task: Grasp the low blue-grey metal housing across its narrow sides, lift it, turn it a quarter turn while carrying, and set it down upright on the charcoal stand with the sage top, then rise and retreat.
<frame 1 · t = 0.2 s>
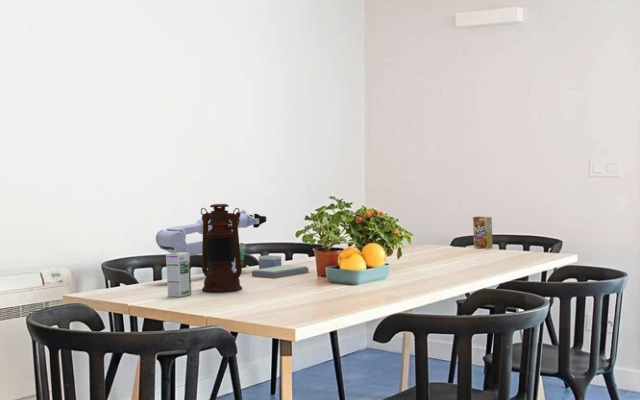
hand: (259, 218, 371), 21 cm above the table, tool horizontal, fingers open, 7 cm apart
syrup box: (179, 296, 303), on the table
candy box: (483, 248, 434), on the table
lantern: (222, 290, 314), on the table
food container: (237, 268, 381), on the table
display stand: (280, 274, 353), on the table
housing: (270, 270, 368), on the table
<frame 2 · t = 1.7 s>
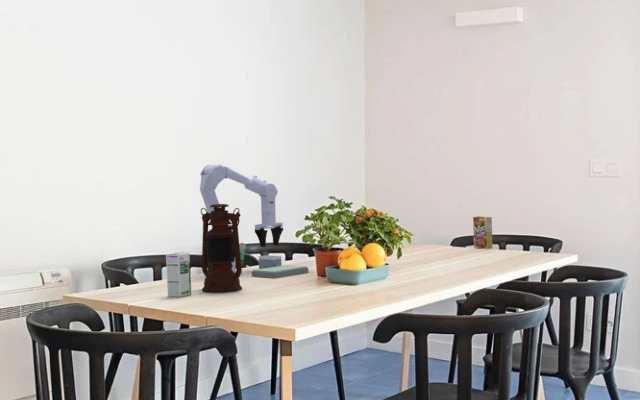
hand: (269, 246, 367), 10 cm above the table, tool pointing down, fingers open, 7 cm apart
nothing on the table moved.
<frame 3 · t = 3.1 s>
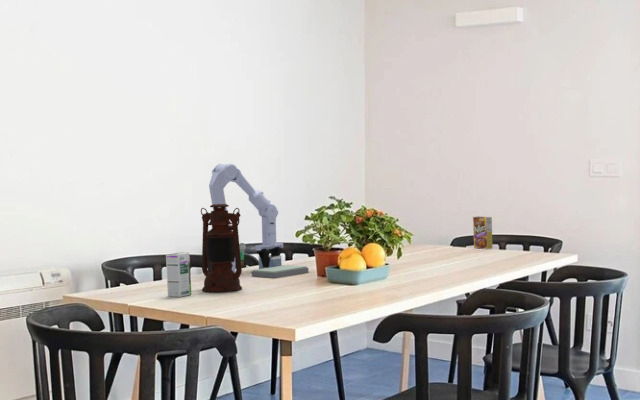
hand: (270, 266, 367), 2 cm above the table, tool pointing down, fingers closed on housing, 5 cm apart
housing: (270, 270, 368), on the table, touching gripper
everything else where it was.
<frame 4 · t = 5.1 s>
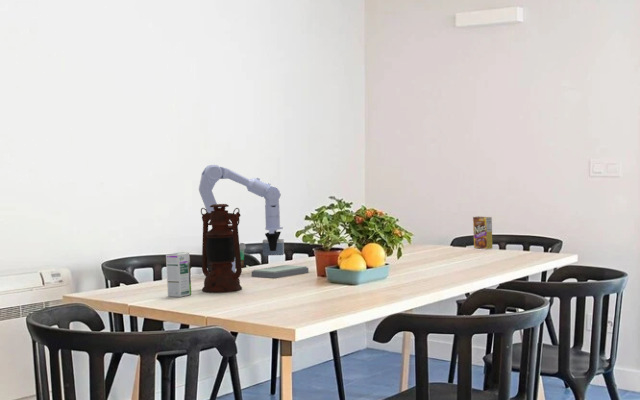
hand: (273, 250, 361), 9 cm above the table, tool pointing down, fingers closed on housing, 5 cm apart
housing: (273, 254, 361), point 7 cm above the table, touching gripper
everything else where it was.
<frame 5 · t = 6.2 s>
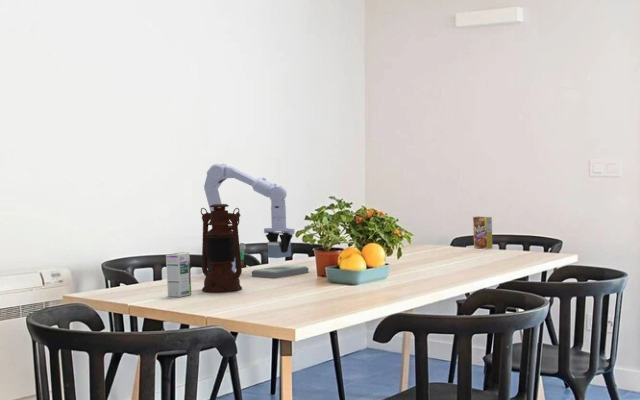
hand: (279, 252, 353), 9 cm above the table, tool pointing down, fingers closed on housing, 5 cm apart
housing: (279, 256, 353), point 7 cm above the table, touching gripper
everything else where it was.
when the fingers open (6 cm above the table, at t = 7.3 s): housing drops 1 cm, resting on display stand.
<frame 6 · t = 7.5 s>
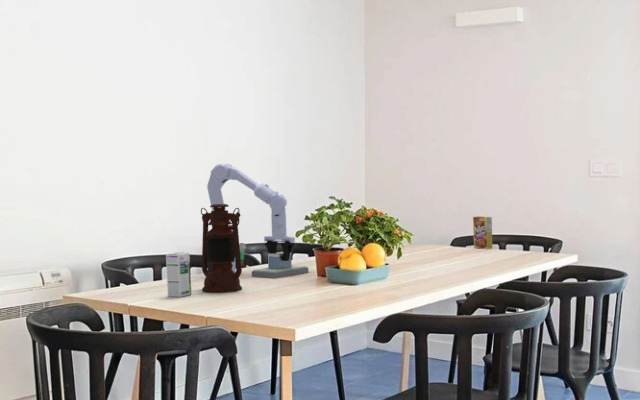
hand: (279, 260, 353), 6 cm above the table, tool pointing down, fingers open, 6 cm apart
housing: (280, 268, 353), point 2 cm above the table, touching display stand
everything else where it was.
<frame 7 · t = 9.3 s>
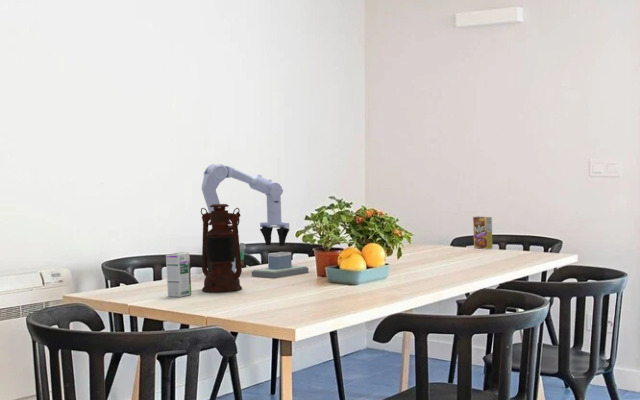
hand: (275, 245, 365), 10 cm above the table, tool pointing down, fingers open, 7 cm apart
nothing on the table moved.
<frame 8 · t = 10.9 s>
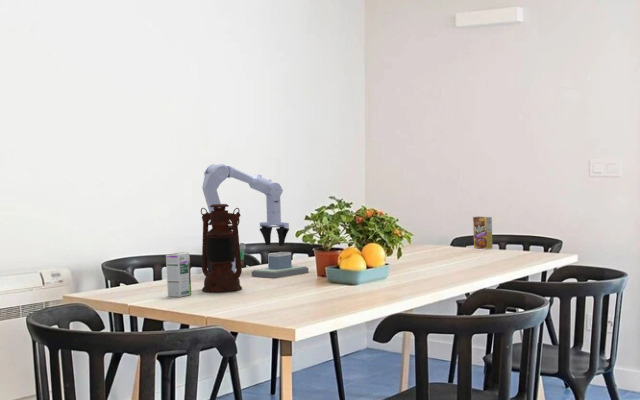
hand: (274, 245, 367), 10 cm above the table, tool pointing down, fingers open, 7 cm apart
nothing on the table moved.
at the end: housing inside the target area on the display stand (0.1 cm from its centre), point 2.5 cm above the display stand's base; housing tilted 0°; the gripper is holding nothing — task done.
